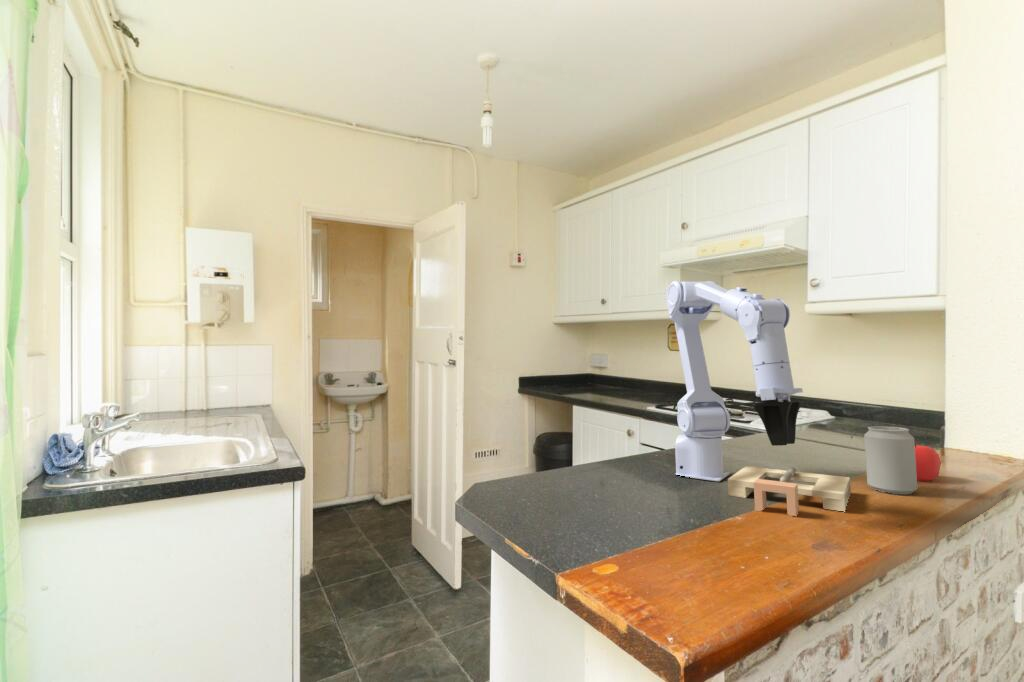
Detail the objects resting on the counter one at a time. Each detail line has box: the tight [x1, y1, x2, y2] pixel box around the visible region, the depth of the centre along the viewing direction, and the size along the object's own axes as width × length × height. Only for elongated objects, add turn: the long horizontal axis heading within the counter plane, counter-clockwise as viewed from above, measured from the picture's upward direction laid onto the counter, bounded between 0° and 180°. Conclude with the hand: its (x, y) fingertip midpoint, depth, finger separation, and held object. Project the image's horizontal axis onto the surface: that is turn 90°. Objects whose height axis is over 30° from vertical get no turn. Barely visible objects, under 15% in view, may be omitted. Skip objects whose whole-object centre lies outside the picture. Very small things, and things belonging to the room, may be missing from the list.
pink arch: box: [753, 479, 800, 517], centre depth 78 cm, size 6×3×5 cm, turn 51°
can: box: [863, 425, 918, 496], centre depth 90 cm, size 8×8×12 cm
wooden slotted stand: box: [727, 465, 852, 513], centre depth 88 cm, size 18×14×4 cm
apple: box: [914, 439, 942, 482], centre depth 98 cm, size 8×8×8 cm
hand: (783, 444), depth 79 cm, fingers open, 7 cm apart
